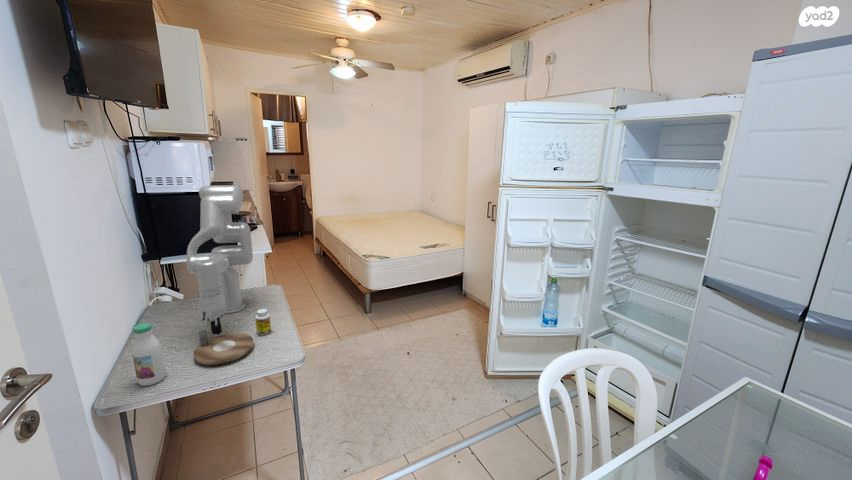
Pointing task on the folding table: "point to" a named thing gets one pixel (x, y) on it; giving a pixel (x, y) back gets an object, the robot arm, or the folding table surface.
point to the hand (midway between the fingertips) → (217, 333)
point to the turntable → (222, 348)
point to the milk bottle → (147, 356)
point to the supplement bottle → (263, 322)
